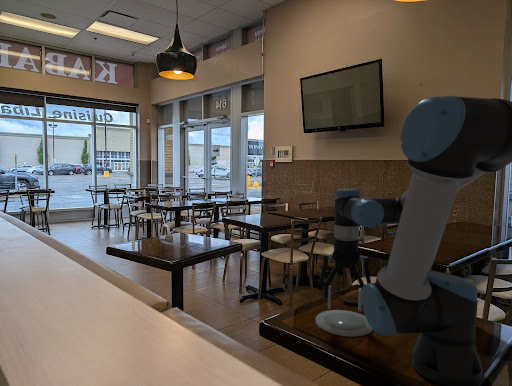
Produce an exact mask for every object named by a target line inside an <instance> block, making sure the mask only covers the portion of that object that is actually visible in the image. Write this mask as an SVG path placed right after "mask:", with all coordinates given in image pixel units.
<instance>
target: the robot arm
mask: <svg viewBox="0 0 512 386" xmlns="http://www.w3.org/2000/svg"><path fill="white" fill-rule="evenodd" d="M400 142H401V144H400V148H401V150H402V153H403V155H404V156H405V157H406V158H407V162H406V164H407V166H408V167H409V169H410V170H411V171H412V174H411V177H410V182H409V185H408V188H407V190H406V191H404V192H403V193H402V194H401V195H400V196H398V197H389V198H388V197H385V198H384V197H383V198H382V197H381V198H380V197H379V198H377V197H376V198H375V197H372V198H369V197H366V198H364V197H362V196H361V191H360V190H359V189H356V188H338V189H336V191H335V194H334V195H335V196H334V223H333V224H334V225H333V228H334V229H333V236H334V239H333V252H332V253H331V254H328V253H324V254H323V264H322V268H321V272H320V276H319V280H318V285H319V286H322V287H323V288H324V298H327V309H329V310H331V297H332V295H331V293H332V288H331V287H332V286H331V283H332V281H333V280H334V278H335V276H336V274H337V272H338V271H339V269H345V268H346V269H352V271H353V273H354V275H355V277H356V280H357V282H358V283H359V286H360V287H359V288H358V290H359V299H358V303H357V305H358V307H357V310H358V312H362V309H363V313H364V316H366V318H367V321H368V323H369V325H370V326H371V328H372V329H373V331H374V332H375V333H376V334H378V335H379V336H380V335H381V336H393V337H394V336H399V335H400V336H401V335H411V334H419V336H418V338H417V341H416V344H415V346H414V347H413V350H412V353H411V365H412V367H413V368H414V370H415V371H416V373H417V372H418V374H419V375H421V376H422V377H424V378H426V379H427V380H429V381H432V382H434V383H437V384H440V385H443V386H479V385H480V384H481V383H482V382H483V366H482V363H481V360H480V357H479V354H478V350H477V347H476V334H477V331H476V329H477V316H478V315H477V314H478V303H479V300H478V288H477V286H476V284H475V283H474V284H473V283H472V282H470V281H468V280H469V279H467V278H463V277H460V276H457V275H455V274H454V275H453V274H450V273H445V272H439V271H431V270H432V267H433V265H434V262H435V259H436V256H437V254H438V253H437V252H438V250H439V246H440V244H441V241H442V239H443V238H442V237H443V235H444V232H445V229H446V226H447V223H448V220H449V217H450V214H451V211H452V209H453V205H454V202H455V199H456V196H457V195H458V192H459V191H461V190H462V189H464V187H466V186H467V185H469V184H471V183H472V182H475V180H477V179H478V178H480V177H481V176H483V175H485V174H494V173H497V172H499V171H500V170H501V169H502V170H503V168H505V167H506V166H509V165H510V164H511V163H512V101H511V100H509V99H503V98H495V97H494V98H487V97H486V98H483V97H470V96H469V97H467V96H456V95H444V96H430V97H427V98H424V99H423V100H421V101H419V102H418V104H416V105H414V106H413V108H412V109H410V111H409V113H408V114H407V116H406V117H405V120H404V121H403V125H402V127H401V132H400ZM379 225H380V226H381V225H397V229H396V232H395V236H394V240H393V243H392V247H391V251H390V254H389V258H388V262H387V265H386V266H383V267H381V269H379V270H378V272H377V274H376V277H375V279H376V280H375V281H374V282H372V280H371V275H370V270H369V261H370V259H369V257H368V256H367V255H365V256H363V255H360V253H359V248H360V247H359V244H360V243H359V238H360V226H361V227H364V228H365V227H367V228H375V227H376V226H379ZM331 260H333V261H334V263H335V264H334V265H333V268H331V271H330V273H329V275H328V277H327V278H326V280H325V277H326V274H327V269H328V265H329V262H331ZM359 261H360V262H361V264H362V265H363V270H364V275H365V280H366V284H365V282H364V280H363V278H362V276H361V274H360V272H359V270H358V268H357V265H356V264H357V263H358V262H359ZM466 279H467V280H466Z"/></svg>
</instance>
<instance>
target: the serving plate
mask: <svg viewBox="0 0 512 386" xmlns="http://www.w3.org/2000/svg"><path fill="white" fill-rule="evenodd" d="M315 324H316V325H317V327H318V328H319V329H321V330H323V332H327V333H329V334H332V335H336V336H342V337H351V338H353V337H362V336H366V335H369V334H371V333H372V332H373V331H374V330H373V329H372V328H371V326H370V325H369V323H368V321H367V318H366V316H365V314H362V313H359V312H354V311H350V310H343V309H342V310H341V309H332V310H331V309H329V310H325V311H321V312H320V313H318V314H317V315H316V317H315Z"/></svg>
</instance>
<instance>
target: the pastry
mask: <svg viewBox="0 0 512 386" xmlns="http://www.w3.org/2000/svg"><path fill="white" fill-rule="evenodd" d="M358 299H359V289H353V290H351V291H350V292H347V293H345V294H343V296H342V300H343V301H345V302H346V303H349V304H357V305H358Z"/></svg>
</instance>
